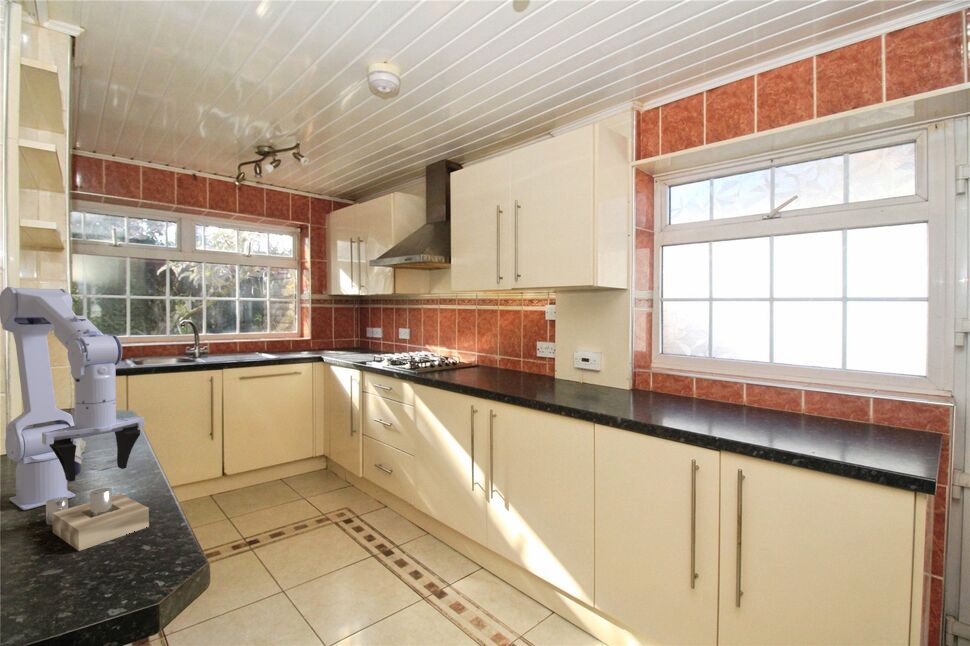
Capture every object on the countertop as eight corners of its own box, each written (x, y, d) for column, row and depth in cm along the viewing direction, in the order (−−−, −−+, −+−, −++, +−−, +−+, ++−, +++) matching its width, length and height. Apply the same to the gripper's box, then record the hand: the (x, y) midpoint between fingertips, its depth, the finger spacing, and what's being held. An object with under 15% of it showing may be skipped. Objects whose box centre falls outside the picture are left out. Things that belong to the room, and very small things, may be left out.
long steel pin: (87, 530, 82) (87, 491, 82) (108, 524, 84) (108, 486, 84) (93, 535, 80) (93, 495, 80) (114, 528, 83) (114, 490, 83)
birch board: (52, 532, 81) (52, 512, 81) (120, 511, 90) (120, 493, 90) (78, 551, 75) (78, 530, 75) (148, 526, 83) (148, 507, 83)
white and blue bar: (55, 463, 107) (60, 428, 125) (56, 490, 107) (60, 451, 126) (85, 458, 110) (85, 424, 129) (86, 484, 111) (86, 447, 129)
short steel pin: (44, 522, 85) (44, 500, 85) (66, 516, 88) (65, 495, 87) (48, 526, 83) (48, 504, 83) (70, 520, 86) (69, 499, 86)
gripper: (51, 410, 76) (52, 491, 76) (151, 397, 88) (152, 466, 89) (37, 405, 80) (38, 482, 80) (134, 393, 92) (135, 459, 93)
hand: (97, 473), depth 85 cm, fingers open, 7 cm apart
